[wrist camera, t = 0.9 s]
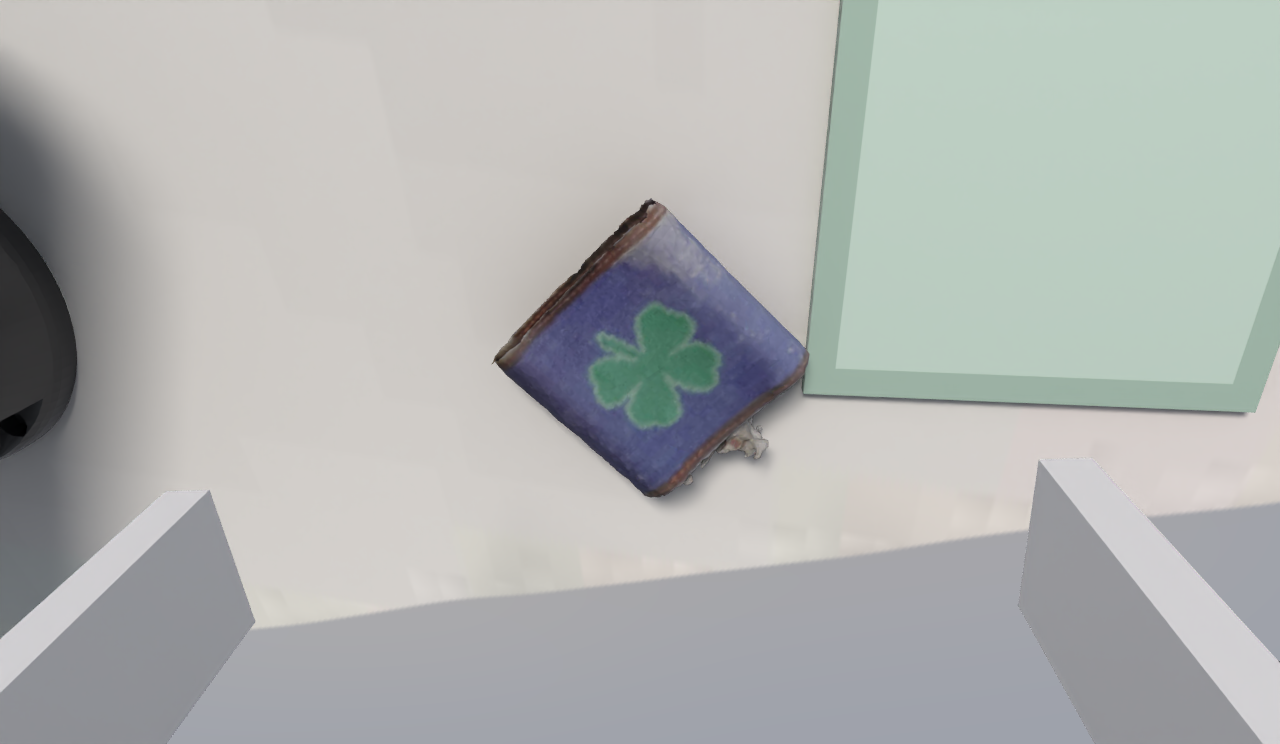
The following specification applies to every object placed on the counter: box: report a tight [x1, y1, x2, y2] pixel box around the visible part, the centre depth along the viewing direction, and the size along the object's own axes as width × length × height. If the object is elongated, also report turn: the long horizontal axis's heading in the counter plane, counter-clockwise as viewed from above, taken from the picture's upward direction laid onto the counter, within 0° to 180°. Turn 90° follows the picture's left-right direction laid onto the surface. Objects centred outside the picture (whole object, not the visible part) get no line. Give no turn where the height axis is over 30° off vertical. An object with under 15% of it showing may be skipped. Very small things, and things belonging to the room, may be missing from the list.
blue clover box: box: [492, 198, 810, 497], centre depth 32 cm, size 9×3×11 cm
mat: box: [802, 0, 1280, 413], centre depth 29 cm, size 18×18×1 cm
